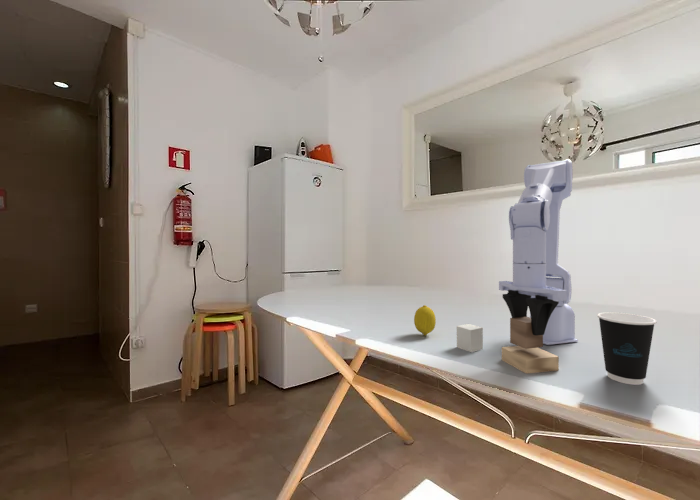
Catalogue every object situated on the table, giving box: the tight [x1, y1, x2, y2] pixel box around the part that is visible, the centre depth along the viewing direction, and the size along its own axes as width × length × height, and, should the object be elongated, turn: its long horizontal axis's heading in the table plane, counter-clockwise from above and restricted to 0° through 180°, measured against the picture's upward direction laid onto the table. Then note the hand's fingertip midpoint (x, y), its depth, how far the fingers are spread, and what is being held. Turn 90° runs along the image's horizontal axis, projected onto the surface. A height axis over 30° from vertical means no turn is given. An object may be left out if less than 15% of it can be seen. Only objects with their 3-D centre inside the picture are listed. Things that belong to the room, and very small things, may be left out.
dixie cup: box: [596, 311, 657, 386], centre depth 56 cm, size 8×8×11 cm
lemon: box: [413, 304, 437, 336], centre depth 84 cm, size 6×6×8 cm
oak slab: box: [501, 345, 560, 374], centre depth 63 cm, size 7×7×3 cm
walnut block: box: [509, 316, 544, 349], centre depth 63 cm, size 4×4×5 cm
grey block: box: [456, 323, 484, 353], centre depth 74 cm, size 4×4×5 cm
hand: (528, 331), depth 63 cm, fingers closed on walnut block, 4 cm apart
